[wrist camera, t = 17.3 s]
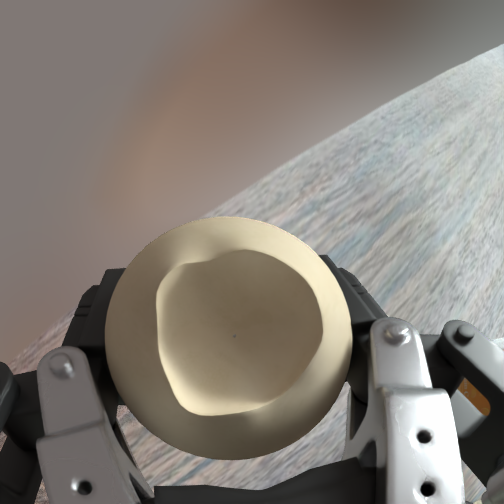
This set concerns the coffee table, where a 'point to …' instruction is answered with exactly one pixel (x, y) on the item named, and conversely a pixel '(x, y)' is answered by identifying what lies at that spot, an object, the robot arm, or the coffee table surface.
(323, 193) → the coffee table surface
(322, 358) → the candle
